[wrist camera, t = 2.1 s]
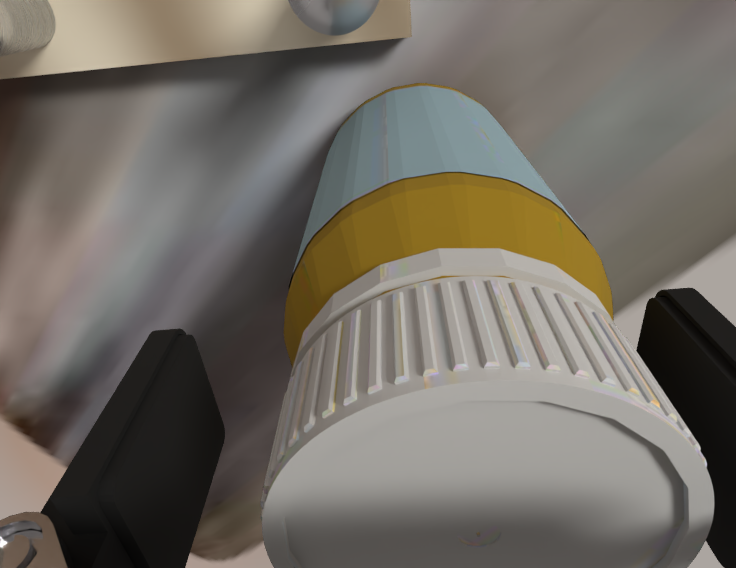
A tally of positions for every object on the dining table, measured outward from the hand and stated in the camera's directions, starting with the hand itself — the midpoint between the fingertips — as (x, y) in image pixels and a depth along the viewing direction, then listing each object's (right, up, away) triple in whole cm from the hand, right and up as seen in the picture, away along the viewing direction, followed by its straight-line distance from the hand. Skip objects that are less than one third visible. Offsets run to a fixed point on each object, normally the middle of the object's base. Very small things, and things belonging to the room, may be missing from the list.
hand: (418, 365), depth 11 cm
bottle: (+1, +6, +9) cm, 11 cm away
